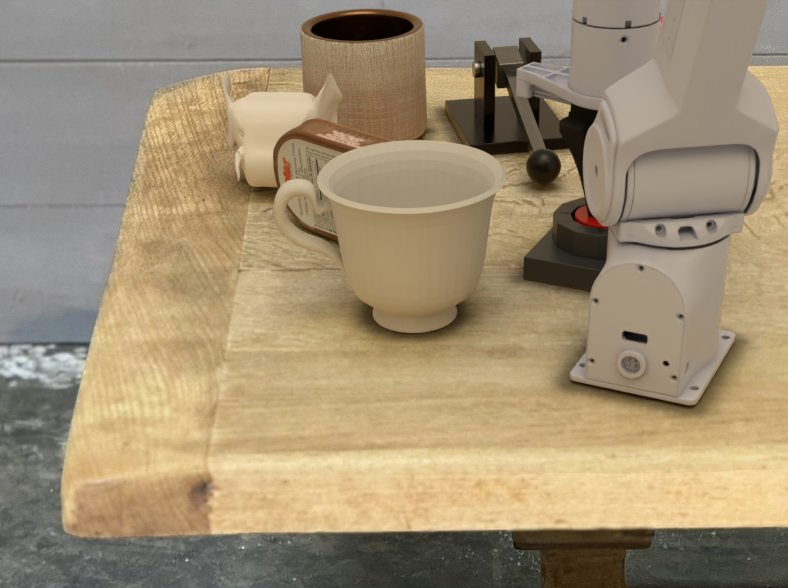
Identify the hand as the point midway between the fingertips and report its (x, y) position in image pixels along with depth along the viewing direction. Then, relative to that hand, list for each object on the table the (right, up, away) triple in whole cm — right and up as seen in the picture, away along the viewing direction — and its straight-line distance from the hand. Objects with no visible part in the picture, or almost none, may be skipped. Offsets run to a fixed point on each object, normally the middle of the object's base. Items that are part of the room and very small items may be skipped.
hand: (603, 214), depth 94 cm
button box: (0, -3, +2) cm, 3 cm away
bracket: (-5, +13, +25) cm, 29 cm away
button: (0, -1, +1) cm, 2 cm away
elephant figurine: (-24, +6, +16) cm, 29 cm away
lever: (-4, +11, +19) cm, 22 cm away
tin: (-18, -1, +6) cm, 19 cm away
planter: (-17, +12, +25) cm, 33 cm away
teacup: (-15, -8, -4) cm, 17 cm away
